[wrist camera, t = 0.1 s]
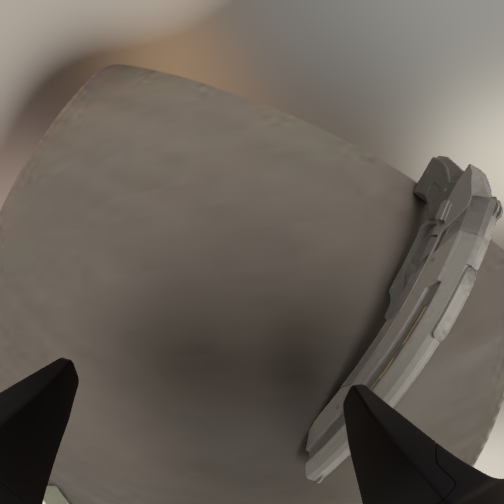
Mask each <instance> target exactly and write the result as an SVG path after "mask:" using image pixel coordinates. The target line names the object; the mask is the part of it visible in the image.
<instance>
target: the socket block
mask: <svg viewBox="0 0 504 504" xmlns="http://www.w3.org/2000/svg"><path fill="white" fill-rule="evenodd" d="M43 504H69V503H68V501H67V500H66V499H65V497H64V496H63V495H62V493H61V492H60V491H59V489H58V488H57V486H47V488H46V492H45V496H44V499H43Z"/></svg>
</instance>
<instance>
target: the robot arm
mask: <svg viewBox="0 0 504 504" xmlns="http://www.w3.org/2000/svg"><path fill="white" fill-rule="evenodd" d="M78 383H79V379H78V375H77V372H76V370H75V367H74V364H73V362H72V361H71V360H69V359H65V358H59V359H58V360H56V361H54V362H52V363H51V364H49V365H47V366H45V367H44V368H42V369H40V370H39V371H37V372H35V373H33V374H32V375H30V376H28V377H27V378H25V379H23V380H21V381H20V382H18V383H16V384H15V385H13V386H11V387H9V388H8V389H6V390H4V391H3V392H1V393H0V504H43V499H44V496H45V492H46V488H47V484H48V481H49V477H50V474H51V471H52V467H53V464H54V461H55V458H56V455H57V452H58V449H59V446H60V443H61V440H62V437H63V434H64V431H65V429H66V426H67V423H68V420H69V417H70V413H71V409H72V405H73V401H74V398H75V394H76V391H77V387H78ZM343 410H344V417H345V424H346V431H347V439H348V445H349V449H350V453H351V457H352V461H353V465H354V469H355V473H356V477H357V481H358V485H359V489H360V493H361V497H362V502H363V504H504V479H497V478H493V477H490V476H488V475H486V474H484V473H482V472H481V471H479V470H477V469H475V468H474V467H472V466H470V465H468V464H467V463H465V462H463V461H462V460H460V459H459V458H457V457H455V456H454V455H453V454H451V453H450V452H448V451H447V450H446V449H444V448H443V447H442V446H440V445H439V444H438V443H436V442H435V441H434V440H432V439H431V438H430V437H429V436H427V435H426V434H425V433H423V432H422V431H421V430H420V429H418V428H417V427H416V426H415V425H413V424H412V423H411V422H410V421H408V420H407V419H406V418H405V417H403V416H402V415H401V414H400V413H398V412H397V411H396V410H395V409H393V408H392V407H391V406H390V405H388V404H387V403H386V402H385V401H383V400H382V399H381V398H380V397H379V396H377V395H376V394H375V393H374V392H372V391H371V390H370V389H369V388H368V387H366V386H365V385H363V384H359V385H352V386H351V387H350V389H349V391H348V393H347V395H346V397H345V400H344V402H343Z"/></svg>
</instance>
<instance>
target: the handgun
mask: <svg viewBox="0 0 504 504" xmlns="http://www.w3.org/2000/svg"><path fill="white" fill-rule="evenodd" d="M413 193H414V194H416V195H417V196H419V197H420V198H421V199H423V200H424V201H425V202H427V203H428V217H427V219H426V221H425V222H424V223H423V224H422V225H421V227H420V230H419V232H418V234H417V236H416V238H415V240H414V243H413V245H412V247H411V249H410V251H409V253H408V255H407V257H406V259H405V261H404V263H403V265H402V267H401V269H400V271H399V272H398V274H397V276H396V278H395V280H394V282H393V284H392V285H391V287H390V289H389V293H390V304H389V307H388V309H387V311H386V314H385V316H384V318H385V319H386V320H387V321H386V322H385V324H384V325H383V327H382V328H381V330H380V332H379V333H378V335H377V336H376V338H375V339H374V341H373V342H372V344H371V345H370V347H369V348H368V350H367V351H366V353H365V354H364V356H363V357H362V358H361V360H360V361H359V363H358V364H357V365H356V367H355V368H354V370H353V371H352V372H351V374H350V375H349V376H348V378H347V379H346V380H345V382H344V383H343V384H342V386H341V387H342V388H340V390H339V391H338V392H337V393H336V395H335V396H334V397H333V398H332V400H331V401H330V402H329V403H328V405H327V406H326V407H325V408H324V409H323V411H322V412H321V413H320V414H319V415H318V416H317V418H316V420H315V421H314V423H313V424H312V426H311V428H310V429H309V434H308V440H307V445H306V451H309V461H308V462H307V463H306V464H305V470H306V479H310V480H314V481H315V482H316V483H320V482H321V481H322V480H323V479H324V478H325V477H326V476H327V475H328V474H329V473H330V472H332V471H333V470H334V469H335V468H336V467H337V466H338V465H339V464H340V463H342V462H343V461H344V460H345V459H346V458H347V457H348V456H349V455H350V454H351V453H350V449H349V445H348V439H347V431H346V424H345V417H344V410H343V402H344V400H345V397H346V395H347V393H348V391H349V389H350V387H351V386H352V385H359V384H363V385H365V386H366V387H368V388H369V389H370V390H371V391H372V392H374V393H375V394H376V395H377V396H379V397H380V398H381V399H382V400H383V401H385V402H386V403H387V404H388V405H390V406H391V407H392V408H393V407H394V406H395V405H396V404H397V402H398V401H399V400H400V399H401V397H402V396H403V395H404V394H405V392H406V391H407V390H408V388H409V387H410V386H411V384H412V383H413V382H414V380H415V379H416V378H417V376H418V375H419V373H420V372H421V371H422V369H423V368H424V366H425V365H426V363H427V362H428V360H429V359H430V357H431V356H432V354H433V353H434V351H435V350H436V348H437V347H438V345H439V343H440V341H441V340H444V339H445V338H446V336H447V334H448V333H449V331H450V329H451V327H452V326H453V324H454V322H455V320H456V318H457V317H458V315H459V313H460V311H461V309H462V307H463V305H464V303H465V301H466V299H467V297H468V295H469V293H470V291H471V289H472V287H473V285H474V283H475V280H476V277H477V271H478V269H479V267H480V265H481V262H482V260H483V257H484V255H485V252H486V250H487V247H488V245H489V242H490V239H491V236H492V233H493V230H494V227H495V225H496V222H497V219H499V218H500V217H501V216H502V213H503V209H502V206H501V203H500V201H498V200H497V198H496V197H492V195H491V188H490V185H489V182H488V180H487V177H486V175H485V174H484V173H483V172H482V171H481V170H480V169H478V168H476V167H475V166H473V165H471V164H469V165H468V167H467V168H466V170H465V171H462V169H461V168H460V167H459V166H457V165H456V164H455V163H454V162H453V161H452V160H450V159H449V158H448V157H444V156H438V157H437V158H435V157H433V158H432V159H431V161H430V163H429V164H428V166H427V168H426V170H425V172H424V173H423V175H422V177H421V178H420V180H419V182H418V183H417V185H416V187H415V189H414V190H413Z"/></svg>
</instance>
